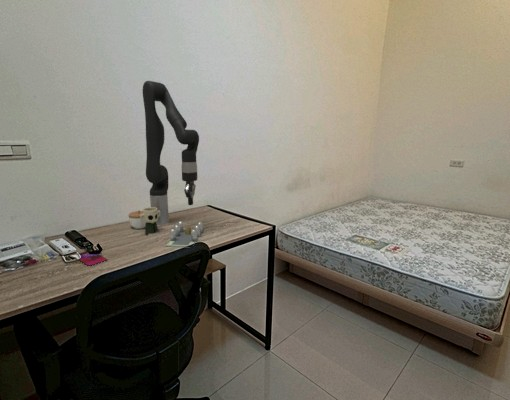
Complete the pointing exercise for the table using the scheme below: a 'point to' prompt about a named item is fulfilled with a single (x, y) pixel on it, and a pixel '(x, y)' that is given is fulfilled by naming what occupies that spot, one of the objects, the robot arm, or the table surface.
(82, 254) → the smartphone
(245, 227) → the table surface
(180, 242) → the mat
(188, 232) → the nut
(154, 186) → the robot arm
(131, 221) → the lidded jar
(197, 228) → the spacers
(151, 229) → the character mug
